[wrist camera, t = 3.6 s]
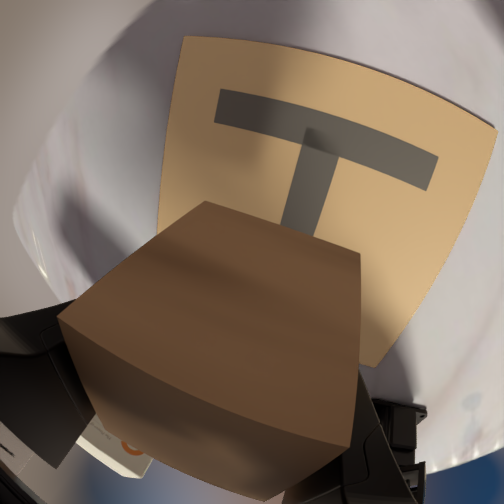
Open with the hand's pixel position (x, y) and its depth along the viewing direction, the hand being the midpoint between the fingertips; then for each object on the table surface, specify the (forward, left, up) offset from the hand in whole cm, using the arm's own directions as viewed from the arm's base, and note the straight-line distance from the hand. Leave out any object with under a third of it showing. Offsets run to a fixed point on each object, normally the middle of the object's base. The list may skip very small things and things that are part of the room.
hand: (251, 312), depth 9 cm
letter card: (0, 0, -9) cm, 9 cm away
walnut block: (0, 0, -1) cm, 1 cm away
